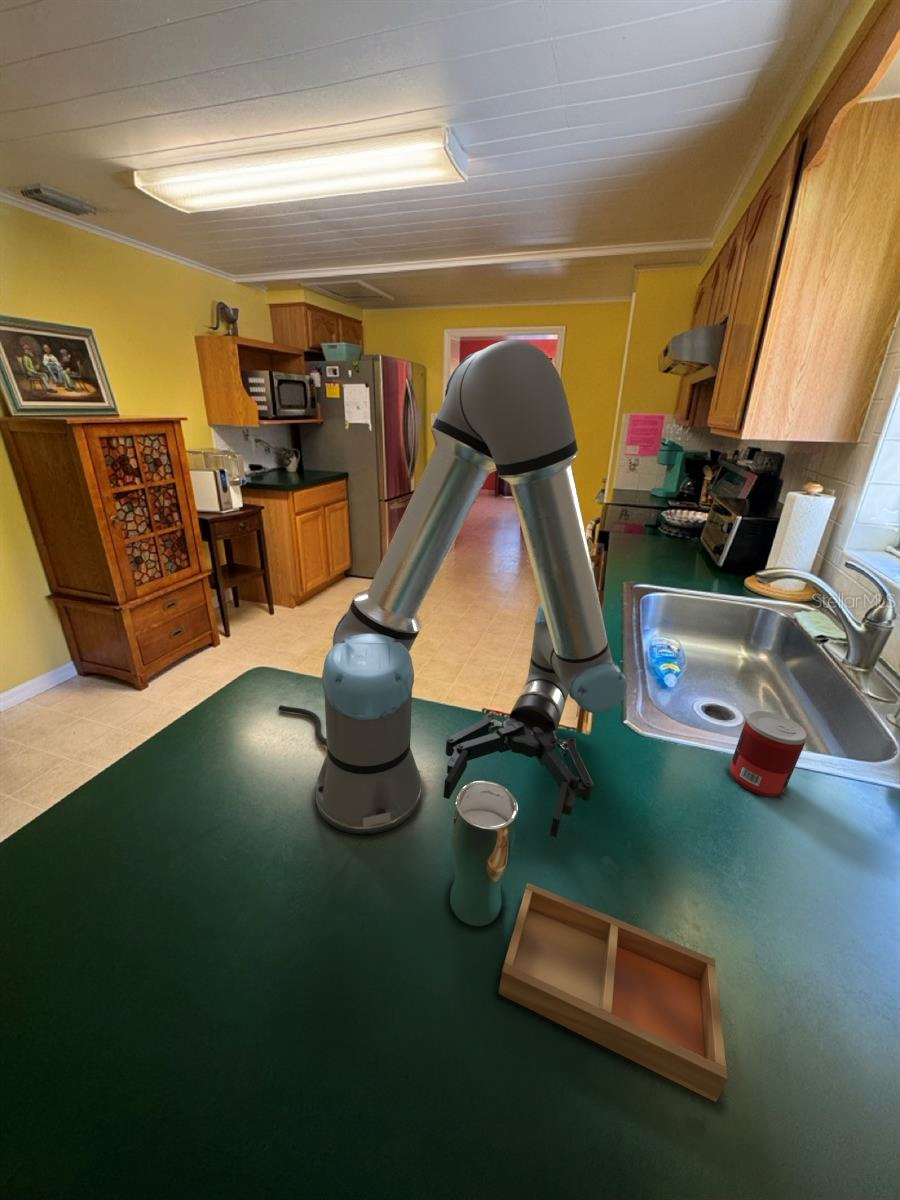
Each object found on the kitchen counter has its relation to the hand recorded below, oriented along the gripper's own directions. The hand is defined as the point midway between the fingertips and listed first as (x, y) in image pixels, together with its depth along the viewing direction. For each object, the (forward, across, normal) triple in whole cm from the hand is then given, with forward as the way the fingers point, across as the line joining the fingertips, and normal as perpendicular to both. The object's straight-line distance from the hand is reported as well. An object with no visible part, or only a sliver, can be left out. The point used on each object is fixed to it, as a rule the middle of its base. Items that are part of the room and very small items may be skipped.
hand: (498, 808), depth 57 cm
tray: (+9, -15, -9) cm, 19 cm away
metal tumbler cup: (+6, 0, -9) cm, 11 cm away
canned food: (-33, -35, -9) cm, 49 cm away
